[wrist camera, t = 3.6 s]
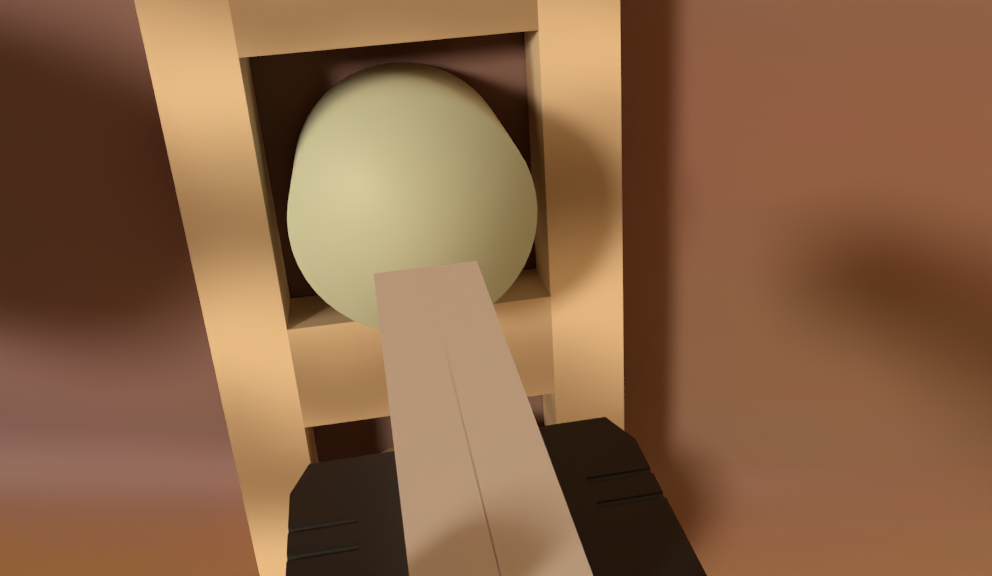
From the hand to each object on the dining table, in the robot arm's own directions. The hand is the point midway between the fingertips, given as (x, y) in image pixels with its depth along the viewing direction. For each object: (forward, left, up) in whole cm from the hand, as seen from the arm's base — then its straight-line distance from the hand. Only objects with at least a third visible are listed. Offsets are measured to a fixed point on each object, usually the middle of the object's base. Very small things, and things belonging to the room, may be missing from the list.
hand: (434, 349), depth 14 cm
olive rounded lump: (+1, 0, -11) cm, 11 cm away
